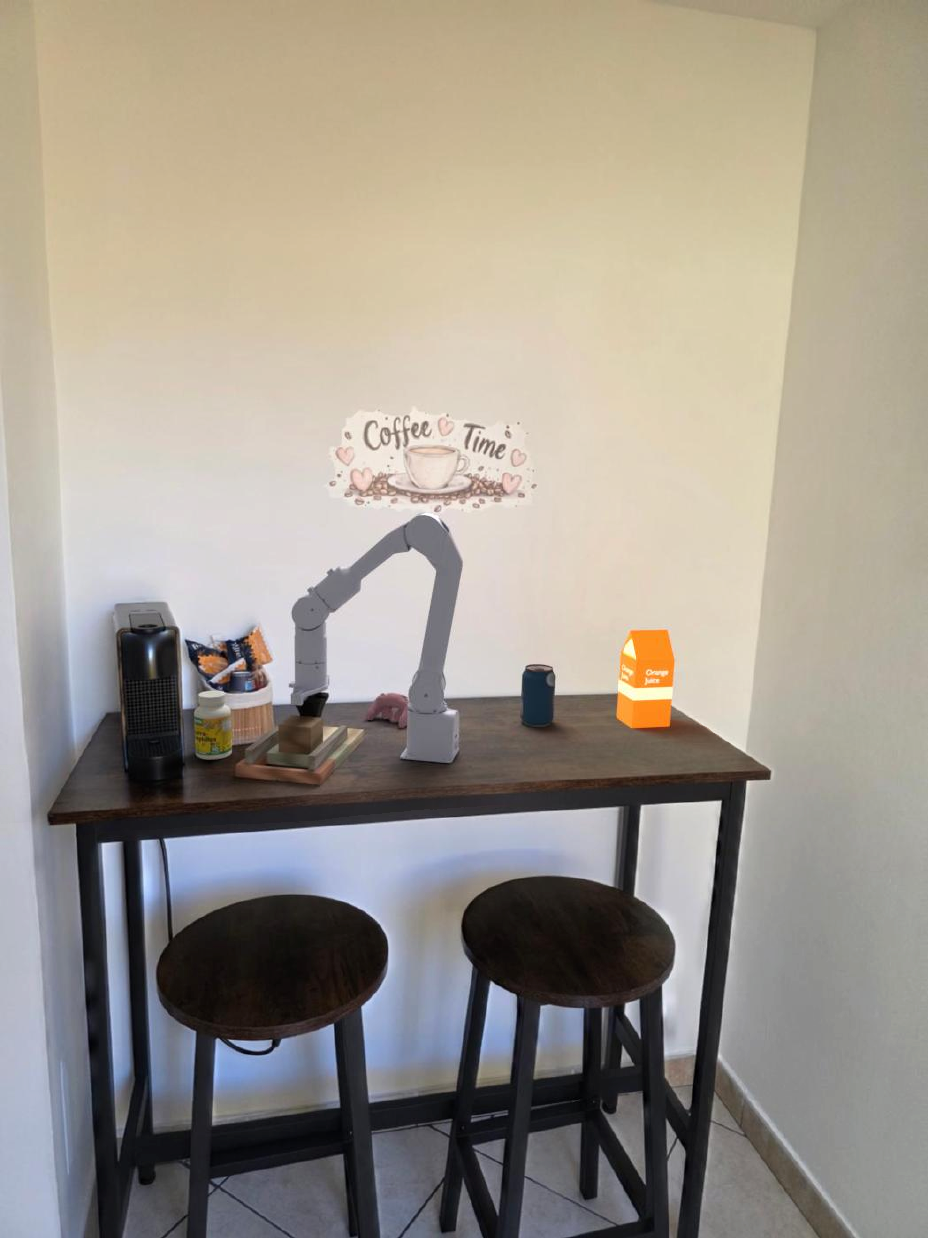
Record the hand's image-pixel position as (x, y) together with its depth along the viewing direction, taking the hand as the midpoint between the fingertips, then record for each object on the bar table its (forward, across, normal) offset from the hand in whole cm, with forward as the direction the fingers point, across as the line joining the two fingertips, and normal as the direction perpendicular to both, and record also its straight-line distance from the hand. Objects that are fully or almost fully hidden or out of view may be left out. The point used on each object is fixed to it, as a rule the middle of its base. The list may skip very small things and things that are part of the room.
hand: (311, 732), depth 152 cm
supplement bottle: (+4, +6, -16) cm, 18 cm away
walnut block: (+1, +5, 0) cm, 5 cm away
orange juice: (+4, -35, +61) cm, 71 cm away
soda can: (+4, -28, +39) cm, 48 cm away
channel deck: (+3, +4, 0) cm, 5 cm away
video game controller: (+4, -21, +10) cm, 23 cm away
